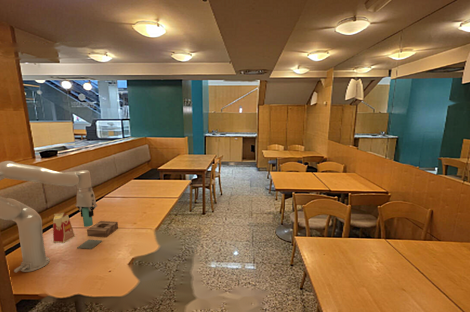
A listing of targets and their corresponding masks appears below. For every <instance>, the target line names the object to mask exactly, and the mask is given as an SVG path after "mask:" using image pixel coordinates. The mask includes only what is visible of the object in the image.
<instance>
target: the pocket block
mask: <svg viewBox="0 0 470 312" xmlns="http://www.w3.org/2000/svg"><path fill="white" fill-rule="evenodd" d="M118 228H119V222H118V221H111V220H110V221H109V220H99V221H98V222H97V223H95V224H93V225H92V226H89V227H88V228H87V229H86V231H87V232H86V234H87V237H95V238H108V237H109V236H110V235H111V234H112V233H113V232H115V231H116V230H118Z"/></svg>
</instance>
